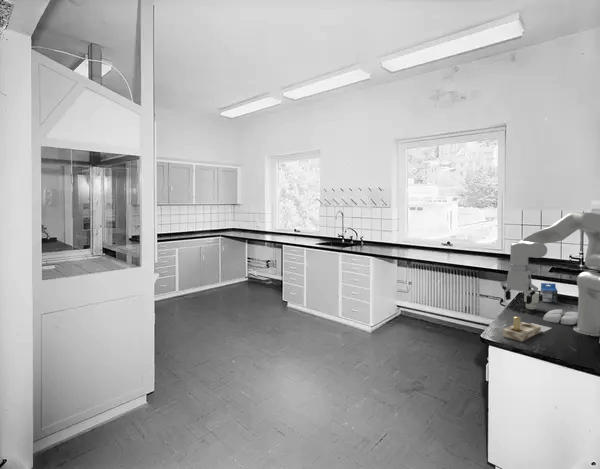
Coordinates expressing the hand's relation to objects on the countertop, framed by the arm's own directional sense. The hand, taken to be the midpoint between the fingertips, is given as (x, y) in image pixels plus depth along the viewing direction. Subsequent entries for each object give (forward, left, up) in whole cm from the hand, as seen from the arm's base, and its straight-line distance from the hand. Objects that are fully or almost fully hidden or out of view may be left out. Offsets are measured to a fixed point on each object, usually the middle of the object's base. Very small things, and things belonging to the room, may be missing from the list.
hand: (518, 301), depth 179 cm
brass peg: (0, 0, -18) cm, 18 cm away
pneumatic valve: (+19, -58, -18) cm, 64 cm away
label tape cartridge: (+20, -85, -18) cm, 89 cm away
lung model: (-1, -51, -19) cm, 54 cm away
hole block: (0, -5, -18) cm, 19 cm away
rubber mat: (0, -22, -18) cm, 29 cm away
